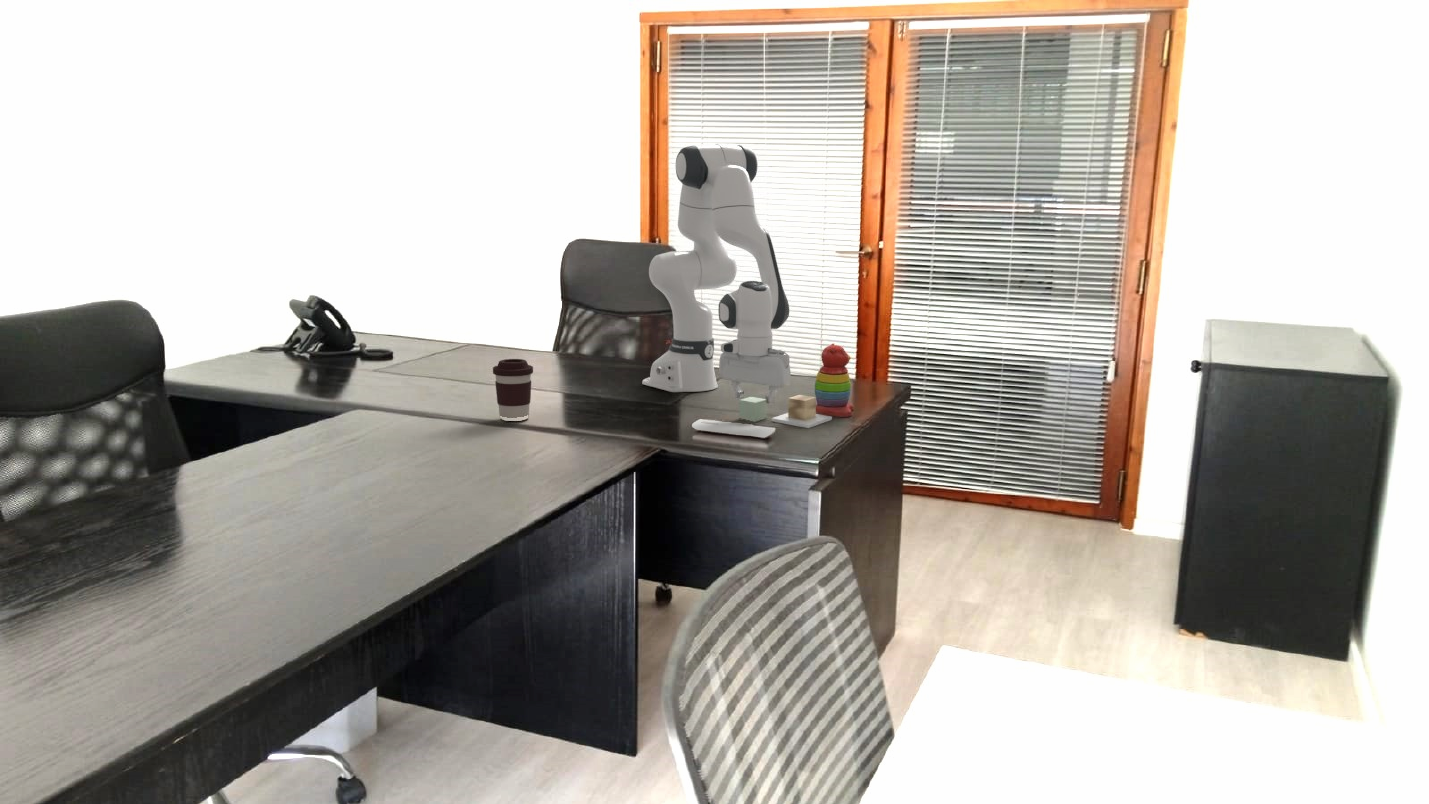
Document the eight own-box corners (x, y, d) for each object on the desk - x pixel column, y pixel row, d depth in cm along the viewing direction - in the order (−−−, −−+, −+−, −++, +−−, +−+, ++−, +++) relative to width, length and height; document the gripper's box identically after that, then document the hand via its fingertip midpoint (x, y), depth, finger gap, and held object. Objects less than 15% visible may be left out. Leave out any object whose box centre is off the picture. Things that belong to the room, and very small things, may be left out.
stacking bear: (851, 417, 283) (853, 349, 279) (811, 415, 285) (813, 347, 281) (854, 408, 293) (856, 342, 289) (816, 406, 295) (818, 340, 291)
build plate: (771, 421, 279) (771, 417, 279) (795, 413, 287) (796, 409, 287) (808, 428, 272) (808, 424, 272) (831, 419, 281) (832, 416, 281)
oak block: (788, 417, 279) (788, 398, 278) (799, 413, 283) (799, 394, 282) (804, 420, 276) (805, 400, 275) (815, 416, 280) (816, 397, 279)
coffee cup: (542, 417, 281) (540, 359, 278) (517, 425, 273) (516, 365, 270) (511, 413, 286) (509, 356, 283) (486, 420, 277) (484, 361, 274)
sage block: (739, 419, 281) (739, 399, 280) (750, 415, 285) (751, 396, 284) (755, 422, 278) (755, 402, 277) (766, 418, 282) (766, 399, 281)
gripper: (796, 349, 274) (795, 403, 276) (730, 341, 286) (730, 393, 289) (781, 352, 269) (781, 407, 272) (715, 344, 281) (715, 397, 284)
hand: (754, 400), depth 280 cm, fingers open, 8 cm apart
